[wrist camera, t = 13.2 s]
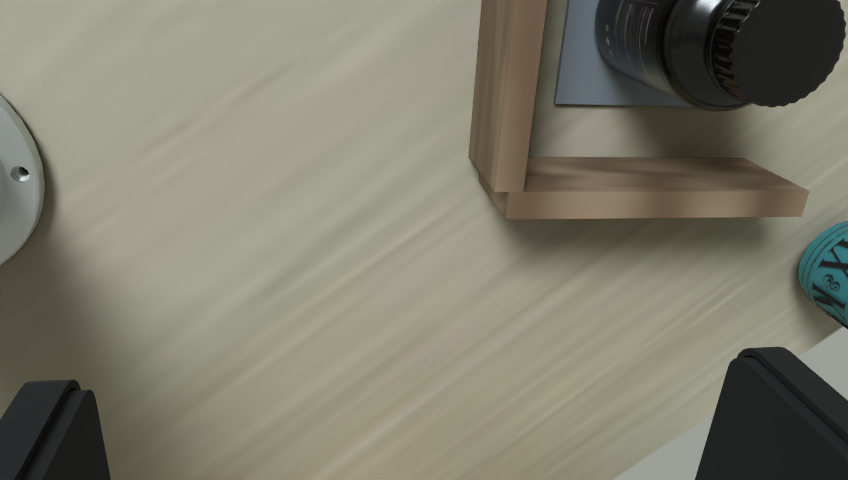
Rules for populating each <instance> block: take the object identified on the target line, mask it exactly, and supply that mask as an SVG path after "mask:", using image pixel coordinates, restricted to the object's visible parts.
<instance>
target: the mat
mask: <svg viewBox="0 0 848 480" xmlns="http://www.w3.org/2000/svg"><path fill="white" fill-rule="evenodd" d="M598 2H599V0H568V1H567V9H566V16H565V23H564V31H563V38H562V45H561V53H560V60H559V67H558V75H557V82H556V89H555V97H554V103H555V104H590V105H638V106H685V107H694V106H692V105H690V104H687V103H684V102H682V101H680V100H677V99H675V98H673V97H671V96H668V95H666V94H664V93H661V92H659V91H657V90H655V89H652V88H650V87H648V86H645V85H643V84H641V83H639V82H636V81H634V80H632V79H630V78H628V77H626V76H624V75H622V74H620V73H619V72H617V71H616V70H614V69H613V68H612V67H611V66H610V65H609V64H608V63H607V61H606V60H605V59H604V57H603V55H602V54H601V52H600V49H599V47H598V44H597V41H596V36H595V14H596V9H597V5H598Z"/></svg>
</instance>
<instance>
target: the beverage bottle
mask: <svg viewBox="0 0 848 480" xmlns="http://www.w3.org/2000/svg"><path fill="white" fill-rule="evenodd" d="M799 282H800V284H801V287H802V288H803V290H804V293H806V294H805V295H807V296H808V297H809V298H810V299H811V300H813V301H814V302H815V303H816V304H817V307H818V305H819V306H820V307H821V308H822V309H824V310H825V311H826V312H827V311H828V312H827V313H826V314H827V315H829V314H828V313H830V315H829V316H830V317H831V316H832V317H833V319H834V318H835V319H836V321H837V322H838V321H839V322H838V323H840V324H841V325H843V326H844V327H845V328H847V329H848V221H846V222H842V223H839V224H837V225H834V226H832V227H830V228H829V229H827V230H826V231H824V232H823V233H822V234H820V235H819V236H818V237H817V238H816V239H815V240H814V241H813V242H812V243H811V244H810V246H809V247H808V248H807V250H806V252H805V253H804V255H803V257H802V260H801V263H800V266H799ZM807 296H806V297H807ZM809 301H810V300H809ZM811 303H812V302H811ZM822 309H821V310H822ZM824 310H823V312H824ZM831 314H832V315H831ZM835 319H834V320H835ZM838 319H839V320H838Z"/></svg>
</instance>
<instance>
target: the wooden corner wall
mask: <svg viewBox="0 0 848 480" xmlns="http://www.w3.org/2000/svg"><path fill="white" fill-rule="evenodd" d="M546 6H547V0H482V6H481V17H480V29H479V41H478V52H477V64H476V76H475V87H474V99H473V110H472V122H471V134H470V145H469V158H470V159H471V160H472V162H473V163H474V165H475V166H476V167H477V169H478V170H479V171H480V173H479V182H480V183H481V185H482V186H483V188H484V189H485V190H486V192H487V193H488V195H489V196H490V198H491V199H492V200H493V202H494V203H495V205H496V206H497V208H498V209H499V210H500V212H501V213H502V215H503V216H504V217H505V219H607V218H710V217H801V216H802V213H803V210H804V207H805V204H806V200H807V197H808V194H809V191H808V190H806V189H804V188H802V187H800V186H798V185H796V184H794V183H792V182H790V181H788V180H786V179H784V178H782V177H780V176H778V175H776V174H774V173H772V172H770V171H768V170H766V169H764V168H762V167H760V166H758V165H756V164H754V163H752V162H750V161H748V160H746V159H744V158H617V157H528V151H529V143H530V135H531V127H532V119H533V111H534V103H535V95H536V87H537V79H538V71H539V63H540V55H541V47H542V38H543V30H544V22H545V14H546Z"/></svg>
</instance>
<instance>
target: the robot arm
mask: <svg viewBox="0 0 848 480" xmlns="http://www.w3.org/2000/svg"><path fill="white" fill-rule="evenodd" d="M22 167H24V168H25V169H26V170H27V171H28V173H25V172H24V171H23V170H22ZM44 193H45V180H44V173H43V166H42V162H41V159H40V156H39V153H38V150H37V148H36V145H35V142H34V140H33V138H32V137H31V135H30V133H29V131H28V130H27V128H26V126H25V124H24V123H23V121H22V119H21V118H20V117H19V116H18V115H17V113H16V112H15V111H14V110H13V109H12V107H11V106H10V105H9V104H8V103H7V101H6V100H5V99H4V98H3V97H2V96H1V95H0V265H1V264H3V263H4V262H5V261H6V260H8V259H9V258H10V257H12V256H13V255H14V254H15V253H16V252H17V251H18V250H19V249H20V248H21V247H22V246H23V244H24V243H25V242H26V241H27V240H28V238H29V237H30V235H31V233H32V232H33V230H34V229H35V227H36V225H37V223H38V220H39V217H40V214H41V211H42V208H43V205H44ZM0 480H111V479H110V474H109V468H108V463H107V458H106V452H105V447H104V442H103V436H102V431H101V426H100V420H99V415H98V409H97V404H96V399H95V395H94V393H93V391H91V390H81V389H80V385H79V384H78V382H77V381H75V380H54V381H32V382H27V383H25V384H24V385H23V386H22V388H21V389H20V390H19V392H18V393H17V395H16V396H15V398H14V400H13V401H12V403H11V404H10V406H9V407H8V409H7V410H6V412H5V413H4V415H3V416H2V418H1V420H0ZM695 480H848V401H847V400H846V399H845V398H844V397H843V396H842V395H840V394H839V393H838V392H837V391H836V390H835V389H833V388H832V387H831V386H830V385H829V384H828V383H826V382H825V381H824V380H823V379H822V378H821V377H819V376H818V375H817V374H816V373H815V372H813V371H812V370H811V369H810V368H809V367H807V366H806V365H805V364H804V363H803V362H802V361H801V360H799V359H798V358H797V357H796V356H795V355H794V354H792V353H791V352H790V351H789V350H787V349H785V348H782V347H764V348H747V349H744V350H742V351H741V352H740V353H739V354H738V357H737V358H736V359H733V360H732V361H731V362H730V364H729V366H728V370H727V373H726V376H725V380H724V383H723V386H722V390H721V393H720V397H719V400H718V403H717V407H716V410H715V414H714V417H713V420H712V424H711V427H710V430H709V434H708V437H707V441H706V444H705V447H704V451H703V454H702V458H701V461H700V464H699V468H698V471H697V475H696V478H695Z"/></svg>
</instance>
